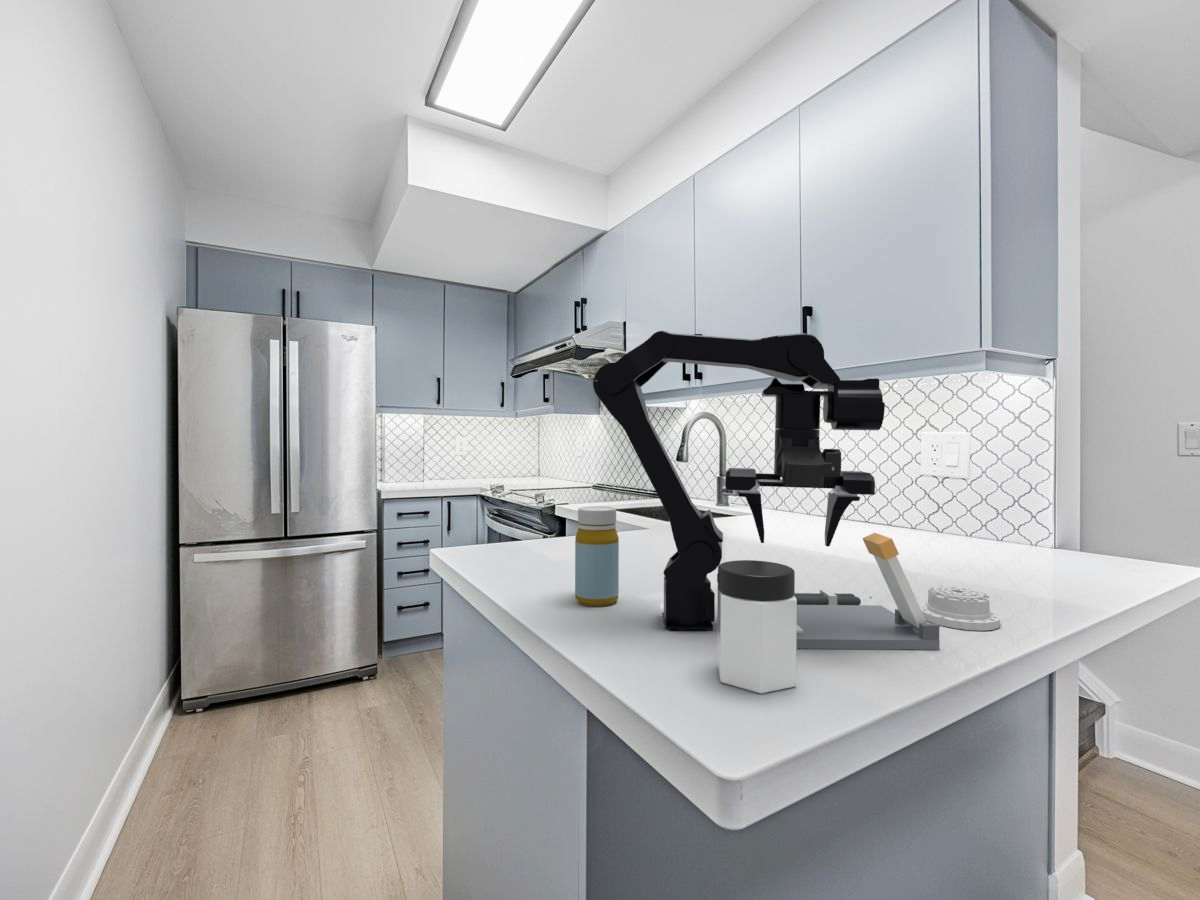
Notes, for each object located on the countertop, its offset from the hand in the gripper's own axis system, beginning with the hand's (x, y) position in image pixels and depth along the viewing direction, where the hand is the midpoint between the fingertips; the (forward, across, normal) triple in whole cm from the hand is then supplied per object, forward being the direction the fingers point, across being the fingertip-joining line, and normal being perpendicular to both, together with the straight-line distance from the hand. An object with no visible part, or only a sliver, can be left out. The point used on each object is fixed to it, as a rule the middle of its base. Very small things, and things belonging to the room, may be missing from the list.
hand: (794, 544), depth 77 cm
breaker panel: (+12, +5, +2) cm, 13 cm away
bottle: (+12, -29, +8) cm, 33 cm away
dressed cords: (+12, +3, +13) cm, 18 cm away
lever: (+10, +15, 0) cm, 18 cm away
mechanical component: (+12, +24, +10) cm, 29 cm away
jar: (+12, -6, -17) cm, 21 cm away
